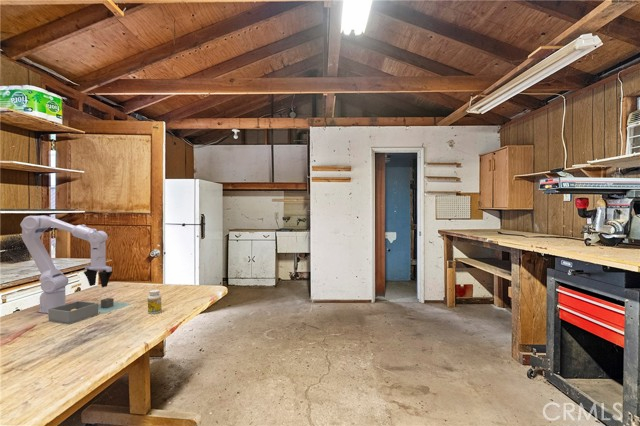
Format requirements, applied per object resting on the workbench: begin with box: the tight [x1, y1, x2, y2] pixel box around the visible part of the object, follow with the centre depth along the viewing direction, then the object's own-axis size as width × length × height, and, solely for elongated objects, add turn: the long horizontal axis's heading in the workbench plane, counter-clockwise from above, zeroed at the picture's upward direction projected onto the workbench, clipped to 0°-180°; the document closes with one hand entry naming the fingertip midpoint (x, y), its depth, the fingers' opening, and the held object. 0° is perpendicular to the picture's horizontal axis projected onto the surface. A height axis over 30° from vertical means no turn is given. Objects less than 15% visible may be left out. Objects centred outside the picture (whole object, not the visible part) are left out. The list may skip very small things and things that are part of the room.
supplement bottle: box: [147, 289, 162, 315], centre depth 139 cm, size 5×5×10 cm
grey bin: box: [47, 300, 99, 325], centre depth 132 cm, size 12×12×5 cm
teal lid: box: [98, 297, 131, 314], centre depth 146 cm, size 14×14×4 cm
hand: (98, 286), depth 145 cm, fingers open, 7 cm apart
